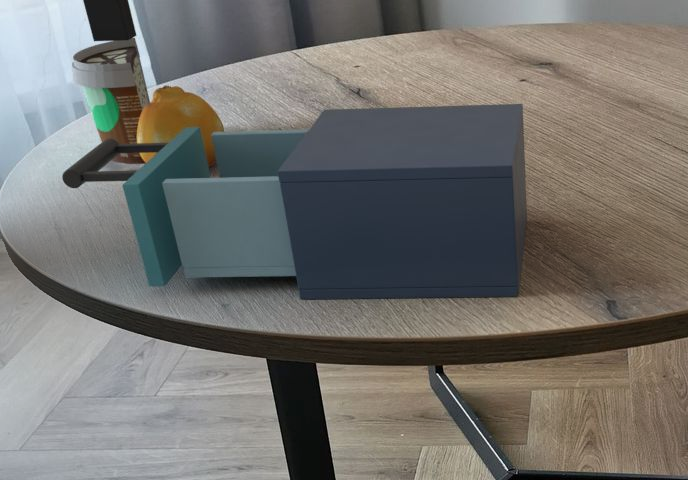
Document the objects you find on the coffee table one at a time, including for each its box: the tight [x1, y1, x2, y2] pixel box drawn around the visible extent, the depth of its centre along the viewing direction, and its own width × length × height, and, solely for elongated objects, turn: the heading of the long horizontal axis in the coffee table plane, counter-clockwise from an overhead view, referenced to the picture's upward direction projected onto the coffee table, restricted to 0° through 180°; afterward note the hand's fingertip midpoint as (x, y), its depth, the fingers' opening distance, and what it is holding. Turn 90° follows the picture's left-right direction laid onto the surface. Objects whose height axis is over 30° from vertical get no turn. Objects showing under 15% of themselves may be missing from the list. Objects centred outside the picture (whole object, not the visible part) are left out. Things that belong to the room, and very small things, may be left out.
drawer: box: [61, 127, 310, 287], centre depth 72 cm, size 20×12×8 cm, turn 86°
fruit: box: [137, 85, 226, 168], centre depth 92 cm, size 8×8×8 cm
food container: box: [71, 37, 151, 164], centre depth 96 cm, size 12×6×10 cm, turn 16°
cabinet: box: [278, 103, 528, 300], centre depth 71 cm, size 16×14×10 cm
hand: (115, 38), depth 72 cm, fingers closed
